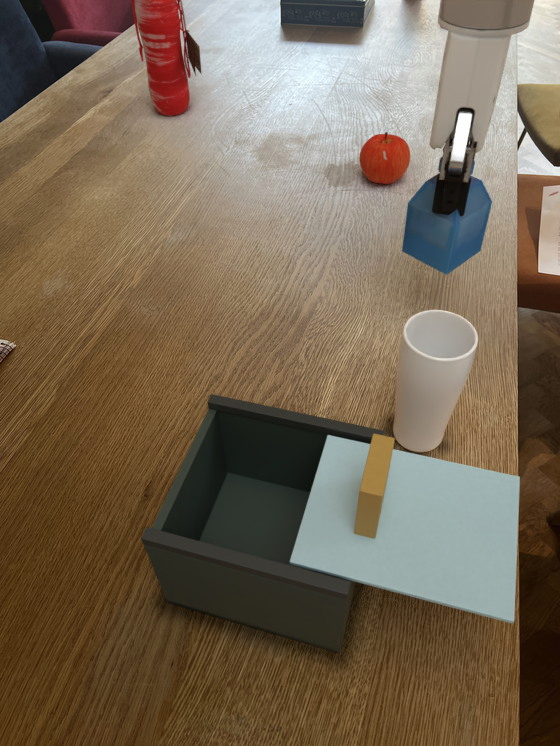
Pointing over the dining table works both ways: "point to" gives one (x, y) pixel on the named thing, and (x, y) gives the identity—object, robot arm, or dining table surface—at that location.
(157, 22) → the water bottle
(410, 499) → the box lid
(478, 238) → the perfume bottle
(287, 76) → the dining table surface
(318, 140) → the dining table surface
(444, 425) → the drinking glass
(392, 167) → the apple
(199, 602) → the display box
